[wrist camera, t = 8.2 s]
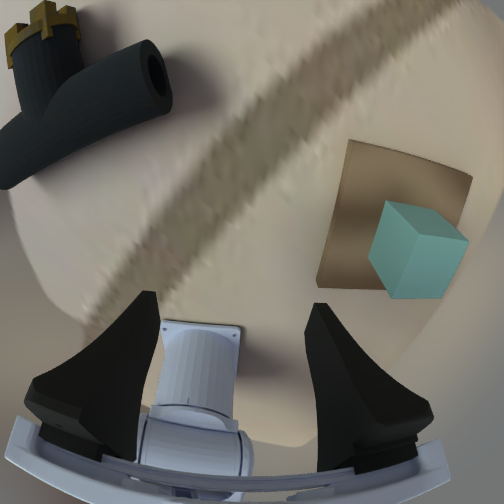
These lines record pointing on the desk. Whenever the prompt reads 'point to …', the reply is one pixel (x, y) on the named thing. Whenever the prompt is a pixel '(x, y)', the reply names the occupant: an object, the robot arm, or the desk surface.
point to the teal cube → (415, 251)
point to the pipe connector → (72, 92)
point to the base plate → (381, 207)
